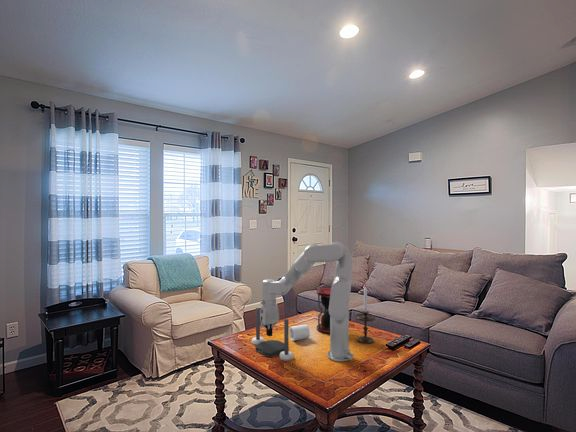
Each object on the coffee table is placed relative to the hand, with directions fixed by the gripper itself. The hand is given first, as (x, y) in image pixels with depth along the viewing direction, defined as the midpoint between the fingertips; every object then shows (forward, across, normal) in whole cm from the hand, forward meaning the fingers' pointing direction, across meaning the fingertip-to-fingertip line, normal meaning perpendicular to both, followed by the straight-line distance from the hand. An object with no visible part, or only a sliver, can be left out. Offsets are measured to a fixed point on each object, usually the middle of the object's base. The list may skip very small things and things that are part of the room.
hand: (269, 335), depth 186 cm
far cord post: (+8, +1, +13) cm, 15 cm away
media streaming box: (+9, +1, 0) cm, 9 cm away
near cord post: (+8, +1, -13) cm, 16 cm away
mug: (+8, +23, +3) cm, 25 cm away
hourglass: (+8, +47, 0) cm, 48 cm away
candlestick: (+8, +50, -26) cm, 57 cm away
